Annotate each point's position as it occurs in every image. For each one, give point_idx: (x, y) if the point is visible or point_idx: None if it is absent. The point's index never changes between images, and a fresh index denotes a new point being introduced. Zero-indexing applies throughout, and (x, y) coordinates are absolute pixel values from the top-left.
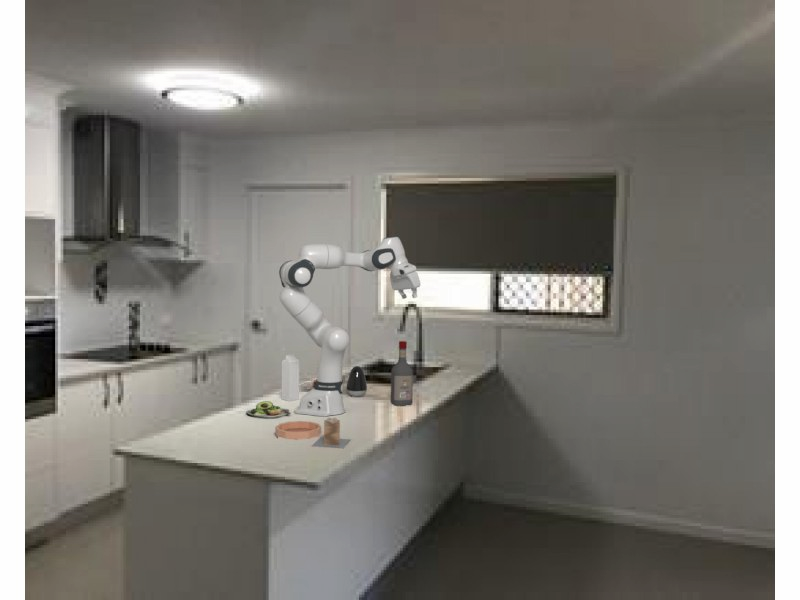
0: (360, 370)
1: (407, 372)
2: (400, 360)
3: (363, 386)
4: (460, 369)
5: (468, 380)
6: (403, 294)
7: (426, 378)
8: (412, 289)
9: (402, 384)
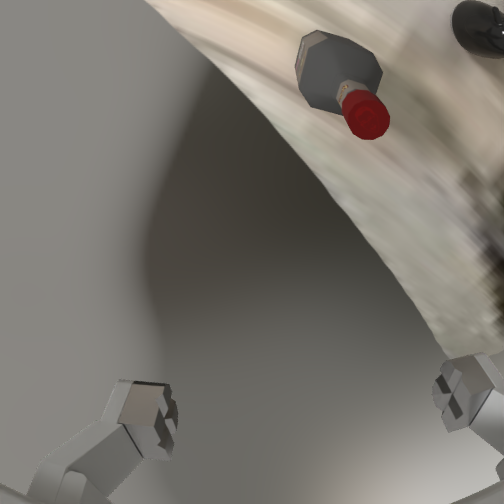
0: (495, 35)
1: (302, 78)
2: (341, 76)
3: (458, 28)
4: (476, 335)
5: (421, 310)
6: (480, 412)
7: (486, 268)
8: (36, 487)
9: (303, 53)
